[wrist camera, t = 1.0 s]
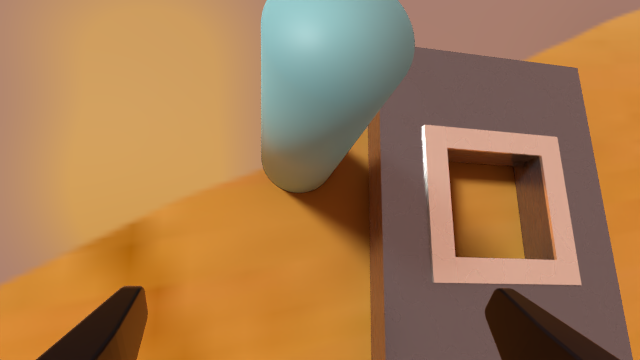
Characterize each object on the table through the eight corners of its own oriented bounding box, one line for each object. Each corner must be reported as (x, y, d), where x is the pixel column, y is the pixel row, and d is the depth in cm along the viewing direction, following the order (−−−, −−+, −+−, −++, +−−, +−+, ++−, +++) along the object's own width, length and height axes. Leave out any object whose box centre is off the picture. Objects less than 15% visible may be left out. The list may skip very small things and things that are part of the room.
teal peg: (333, 194, 23) (418, 110, 11) (258, 190, 22) (255, 94, 10) (334, 126, 24) (411, -21, 12) (263, 120, 23) (266, -45, 11)
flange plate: (598, 375, 23) (641, 389, 20) (371, 383, 20) (387, 400, 18) (550, 84, 28) (579, 66, 26) (367, 62, 26) (378, 40, 23)
